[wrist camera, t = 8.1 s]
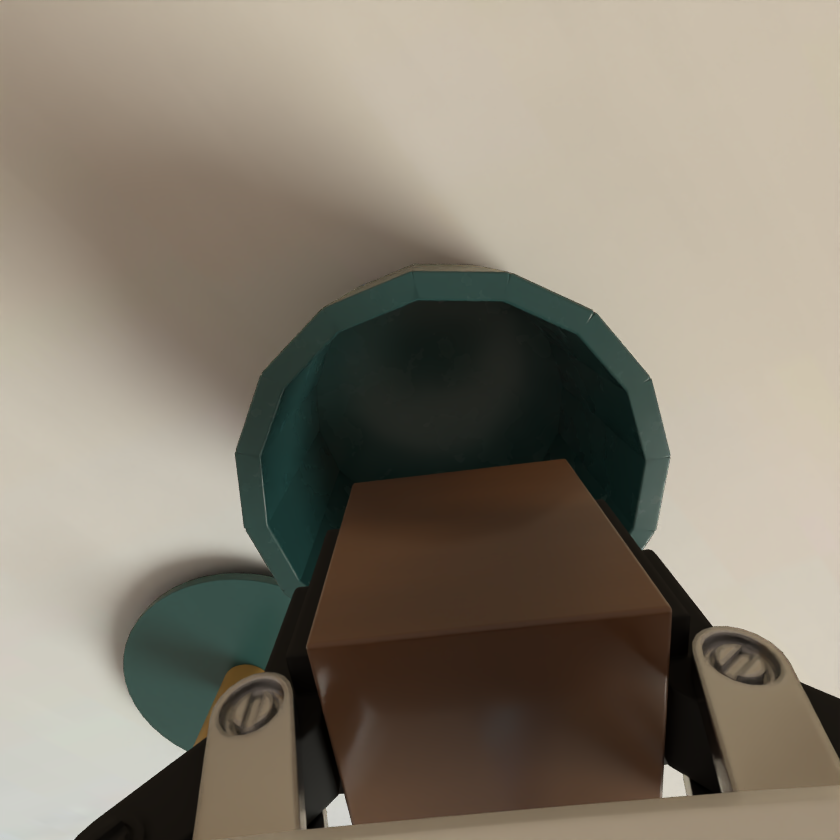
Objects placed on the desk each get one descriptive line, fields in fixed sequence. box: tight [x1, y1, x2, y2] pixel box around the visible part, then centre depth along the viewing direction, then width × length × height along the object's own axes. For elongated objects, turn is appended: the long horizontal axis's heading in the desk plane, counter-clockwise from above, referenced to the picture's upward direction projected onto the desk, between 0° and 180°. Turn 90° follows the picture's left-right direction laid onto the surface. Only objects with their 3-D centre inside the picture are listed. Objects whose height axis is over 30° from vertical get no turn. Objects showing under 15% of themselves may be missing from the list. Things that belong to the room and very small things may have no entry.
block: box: [306, 459, 672, 825], centre depth 10 cm, size 5×5×5 cm
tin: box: [235, 264, 670, 598], centre depth 20 cm, size 14×14×10 cm
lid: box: [123, 573, 291, 751], centre depth 27 cm, size 15×15×6 cm
